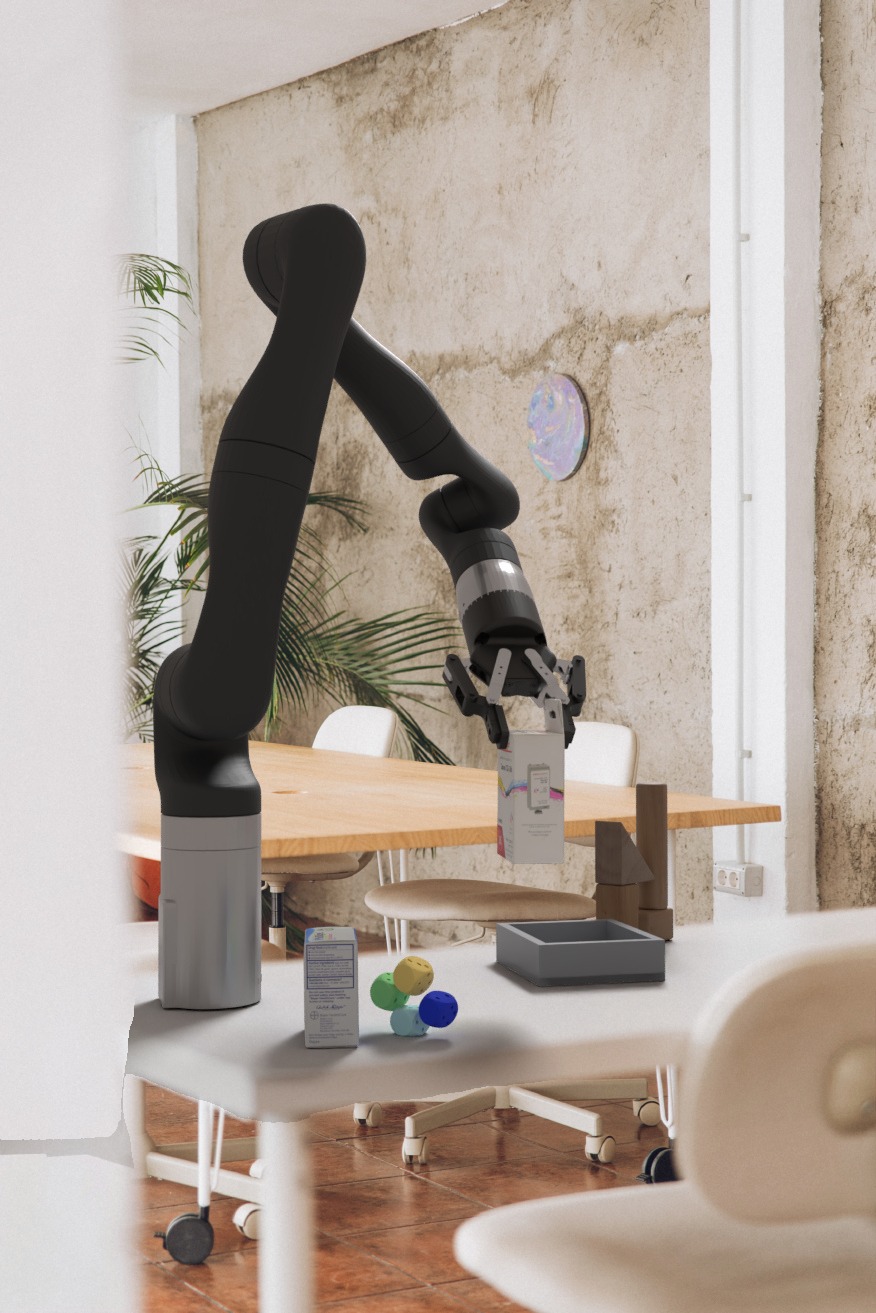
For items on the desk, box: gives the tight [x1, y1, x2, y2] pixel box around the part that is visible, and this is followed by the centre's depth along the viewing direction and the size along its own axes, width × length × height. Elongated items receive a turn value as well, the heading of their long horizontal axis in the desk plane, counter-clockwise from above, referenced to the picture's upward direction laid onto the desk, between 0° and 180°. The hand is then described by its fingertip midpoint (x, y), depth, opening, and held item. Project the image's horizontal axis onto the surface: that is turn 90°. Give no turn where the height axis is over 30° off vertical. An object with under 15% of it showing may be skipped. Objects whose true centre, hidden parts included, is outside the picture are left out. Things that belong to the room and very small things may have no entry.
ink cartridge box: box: [496, 699, 566, 865], centre depth 146 cm, size 9×5×15 cm, turn 8°
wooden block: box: [594, 781, 674, 941], centre depth 181 cm, size 4×11×18 cm, turn 140°
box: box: [495, 918, 666, 988], centre depth 163 cm, size 13×15×4 cm
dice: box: [369, 955, 459, 1037], centre depth 133 cm, size 8×3×6 cm, turn 53°
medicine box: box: [303, 926, 360, 1049], centre depth 132 cm, size 8×4×9 cm, turn 5°
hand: (535, 742), depth 144 cm, fingers closed on ink cartridge box, 5 cm apart
